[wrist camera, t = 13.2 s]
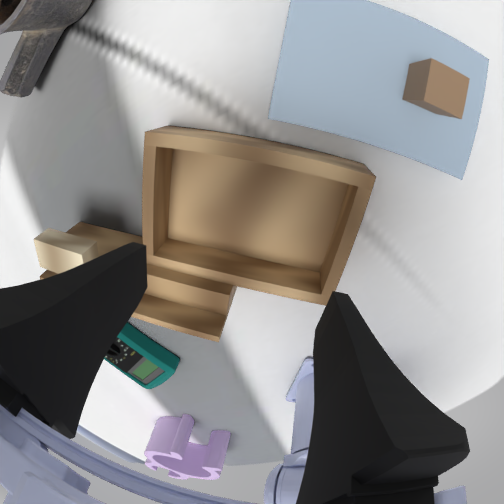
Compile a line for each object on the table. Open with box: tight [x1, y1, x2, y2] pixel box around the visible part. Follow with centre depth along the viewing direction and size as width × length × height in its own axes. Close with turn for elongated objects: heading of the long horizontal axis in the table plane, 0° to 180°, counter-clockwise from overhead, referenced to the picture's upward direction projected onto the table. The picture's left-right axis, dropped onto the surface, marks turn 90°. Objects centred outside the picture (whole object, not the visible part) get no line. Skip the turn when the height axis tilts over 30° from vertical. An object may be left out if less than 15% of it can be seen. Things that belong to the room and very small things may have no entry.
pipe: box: [0, 0, 92, 97], centre depth 10 cm, size 6×13×8 cm, turn 141°
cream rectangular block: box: [34, 228, 99, 274], centre depth 17 cm, size 5×2×2 cm, turn 81°
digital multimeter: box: [104, 322, 180, 389], centre depth 29 cm, size 7×15×3 cm, turn 50°
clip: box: [144, 414, 231, 480], centre depth 39 cm, size 20×12×7 cm, turn 149°
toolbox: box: [40, 126, 376, 342], centre depth 18 cm, size 22×11×6 cm, turn 81°
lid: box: [268, 0, 489, 180], centre depth 12 cm, size 13×9×5 cm
